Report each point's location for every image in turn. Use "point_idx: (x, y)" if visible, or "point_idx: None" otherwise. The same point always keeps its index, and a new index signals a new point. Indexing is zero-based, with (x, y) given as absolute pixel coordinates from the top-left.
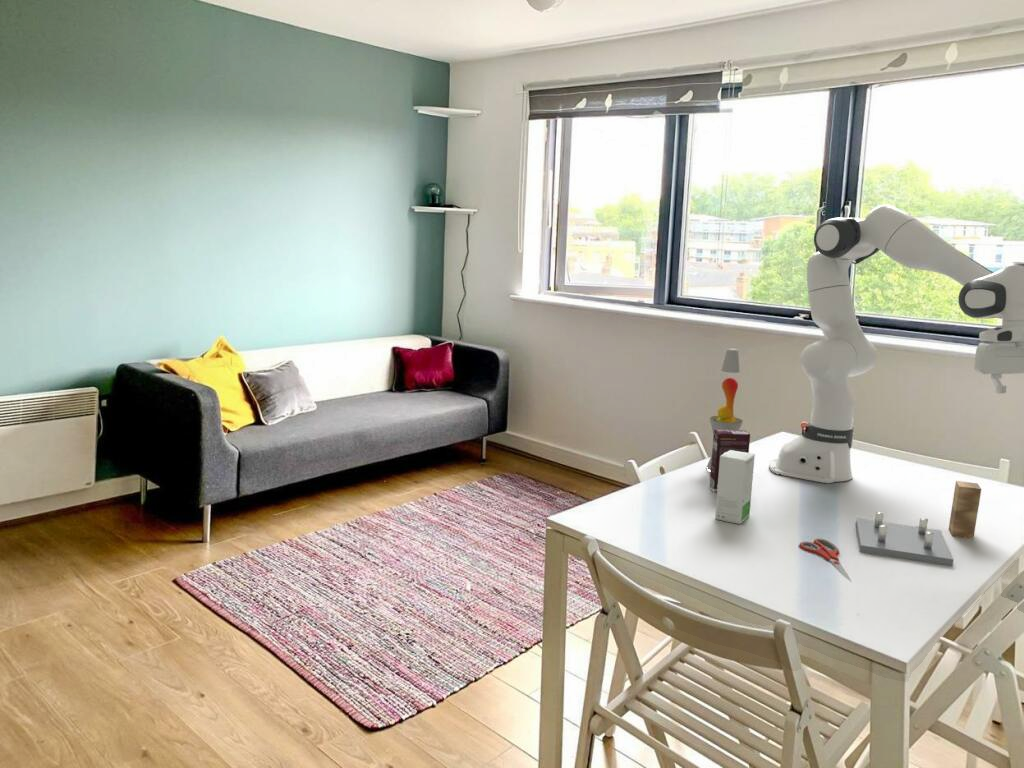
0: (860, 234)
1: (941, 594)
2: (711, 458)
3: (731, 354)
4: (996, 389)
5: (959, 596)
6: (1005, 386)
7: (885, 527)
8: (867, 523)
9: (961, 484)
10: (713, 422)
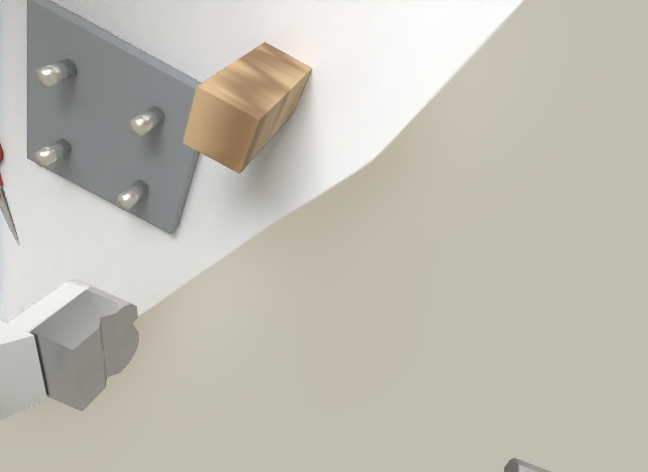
0: None
1: (126, 294)
2: None
3: None
4: (50, 304)
5: (147, 303)
6: (78, 403)
7: (43, 165)
8: (49, 39)
9: (197, 127)
10: None
